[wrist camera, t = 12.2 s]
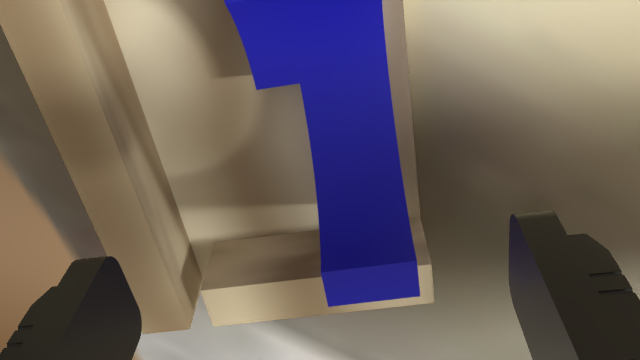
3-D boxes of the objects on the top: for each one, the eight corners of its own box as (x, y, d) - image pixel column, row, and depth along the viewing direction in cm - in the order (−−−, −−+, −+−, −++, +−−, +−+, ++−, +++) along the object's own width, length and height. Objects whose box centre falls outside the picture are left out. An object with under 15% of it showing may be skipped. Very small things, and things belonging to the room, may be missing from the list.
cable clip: (217, -109, 18) (174, -80, 12) (362, -136, 17) (379, -118, 12) (292, 207, 24) (283, 312, 19) (399, 193, 23) (420, 296, 18)
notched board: (379, -248, 16) (392, -266, 13) (420, 239, 26) (434, 302, 23) (-9, -171, 18) (-89, -169, 14) (166, 269, 27) (143, 334, 24)
